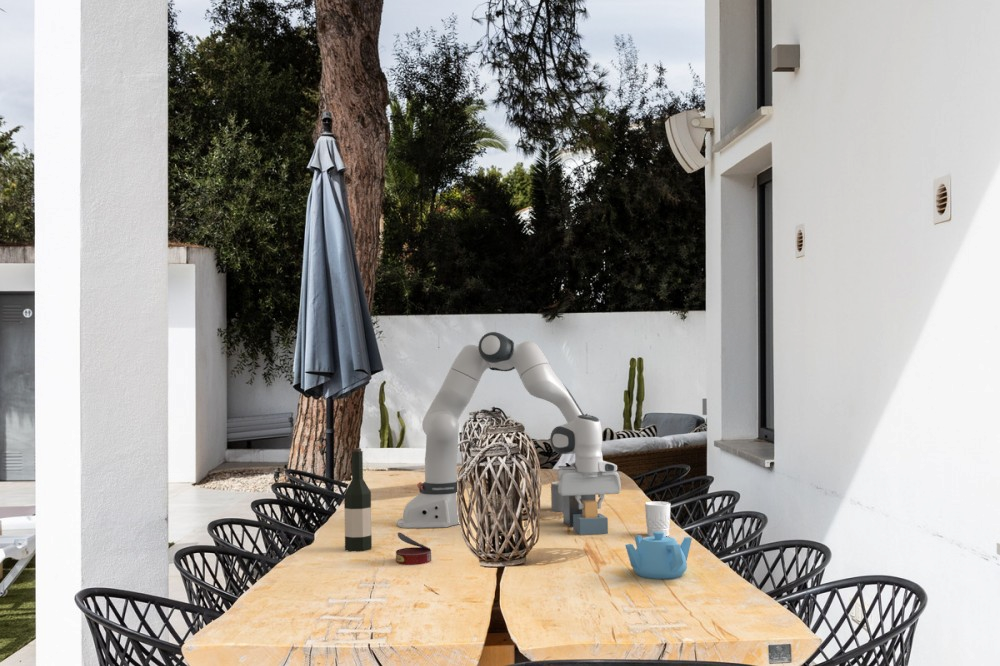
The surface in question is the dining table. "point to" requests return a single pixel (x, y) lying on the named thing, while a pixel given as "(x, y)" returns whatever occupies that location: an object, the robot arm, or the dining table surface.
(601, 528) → the lower socket
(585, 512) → the plug
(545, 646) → the dining table surface
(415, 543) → the canned food
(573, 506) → the upper socket
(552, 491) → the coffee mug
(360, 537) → the wine bottle
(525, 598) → the dining table surface
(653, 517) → the white cup
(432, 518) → the robot arm
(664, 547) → the teapot
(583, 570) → the dining table surface
